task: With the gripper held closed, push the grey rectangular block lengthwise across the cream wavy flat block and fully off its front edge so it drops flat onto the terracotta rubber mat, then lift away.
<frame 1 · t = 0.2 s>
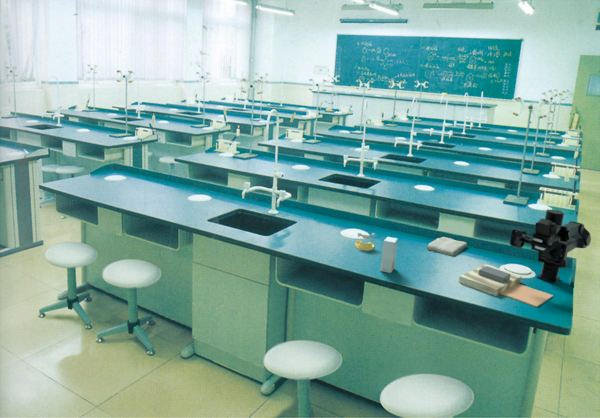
hand: (527, 249, 167), 17 cm above the worktop, tool horizontal, fingers open, 9 cm apart
mat: (526, 295, 172), on the worktop
skincare box: (387, 270, 187), on the worktop
cream wavy flat block: (490, 282, 181), on the worktop
washcloth: (446, 249, 217), on the worktop
grey rectangular block: (493, 276, 180), point 2 cm above the worktop, touching cream wavy flat block
dental model: (364, 248, 210), on the worktop
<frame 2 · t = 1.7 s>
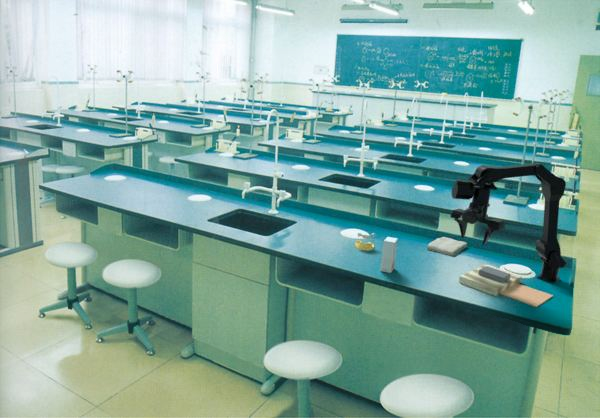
hand: (473, 241, 184), 13 cm above the worktop, tool pointing down, fingers open, 8 cm apart
nothing on the worktop moved.
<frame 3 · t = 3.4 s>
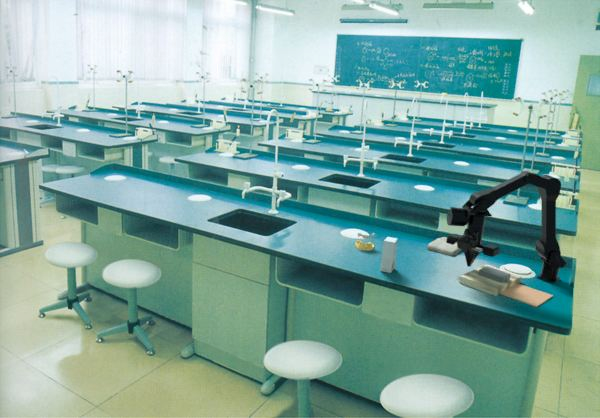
hand: (468, 266, 187), 3 cm above the worktop, tool pointing down, fingers closed
nothing on the worktop moved.
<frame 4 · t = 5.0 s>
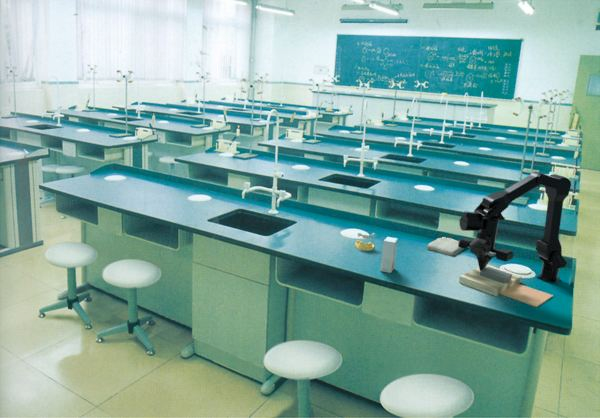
hand: (481, 270, 183), 3 cm above the worktop, tool pointing down, fingers closed
grey rectangular block: (495, 277, 180), point 3 cm above the worktop, touching cream wavy flat block, gripper
everything else where it was.
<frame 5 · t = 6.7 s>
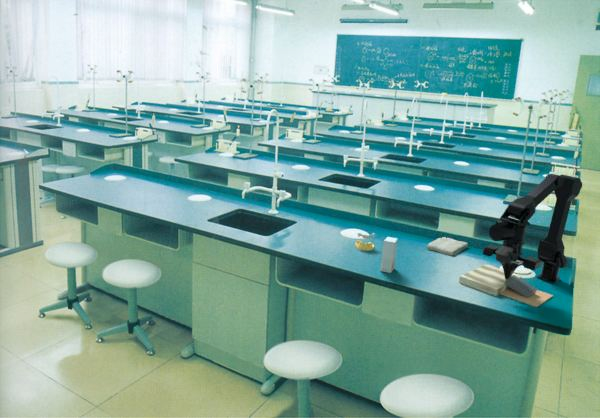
hand: (506, 279, 177), 3 cm above the worktop, tool pointing down, fingers closed
grey rectangular block: (519, 288, 173), point 2 cm above the worktop, tilted 15°, touching gripper
everything else where it was.
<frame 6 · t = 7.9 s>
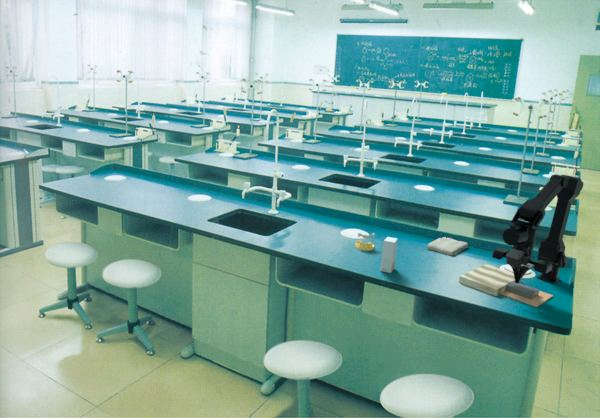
hand: (517, 282, 174), 3 cm above the worktop, tool pointing down, fingers closed
grey rectangular block: (521, 292, 173), resting on mat
everything else where it was.
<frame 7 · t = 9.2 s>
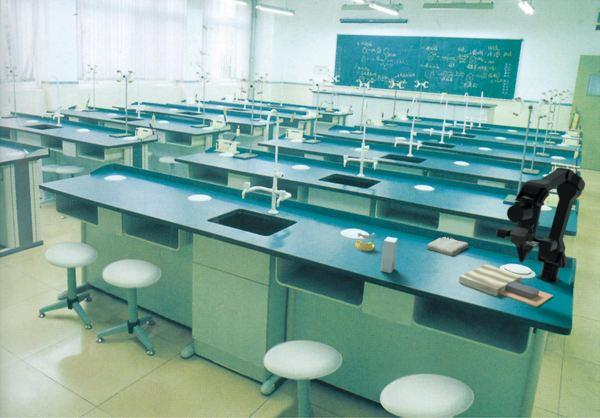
hand: (521, 261, 172), 11 cm above the worktop, tool pointing down, fingers closed
nothing on the worktop moved.
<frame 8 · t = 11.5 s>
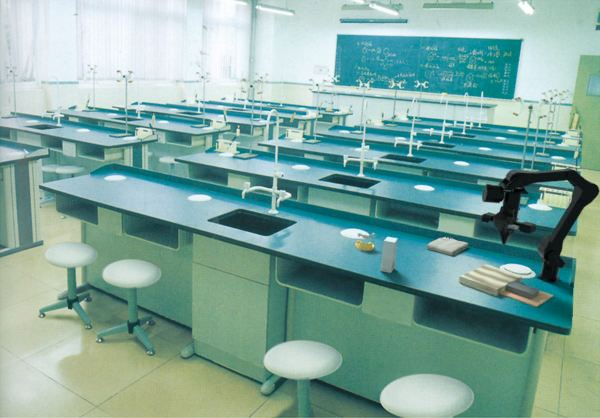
hand: (503, 244, 187), 12 cm above the worktop, tool pointing down, fingers closed
nothing on the worktop moved.
at the end: grey rectangular block resting on mat; grey rectangular block inside the target area (2.3 cm from its centre), resting on mat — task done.
